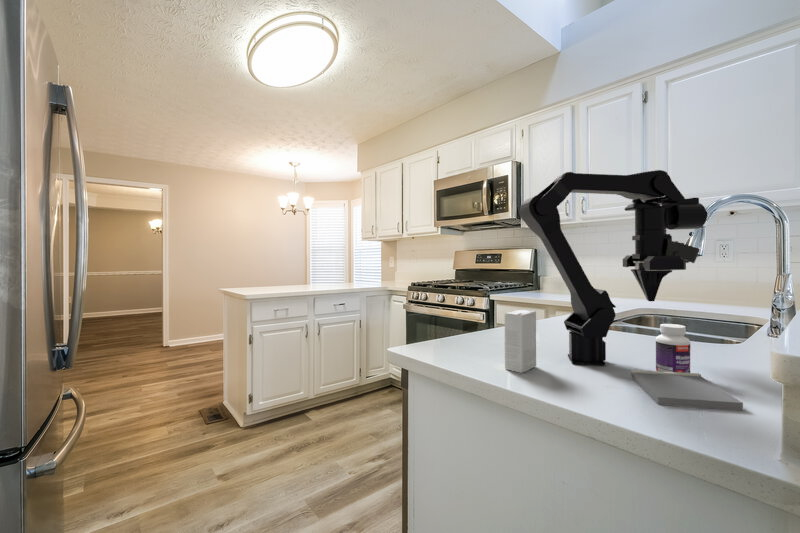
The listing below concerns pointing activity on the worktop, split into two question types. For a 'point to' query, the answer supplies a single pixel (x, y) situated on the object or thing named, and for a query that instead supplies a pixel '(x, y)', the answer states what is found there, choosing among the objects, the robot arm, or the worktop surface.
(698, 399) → the mat
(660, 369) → the pill bottle
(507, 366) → the skincare box
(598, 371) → the worktop surface
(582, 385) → the worktop surface
